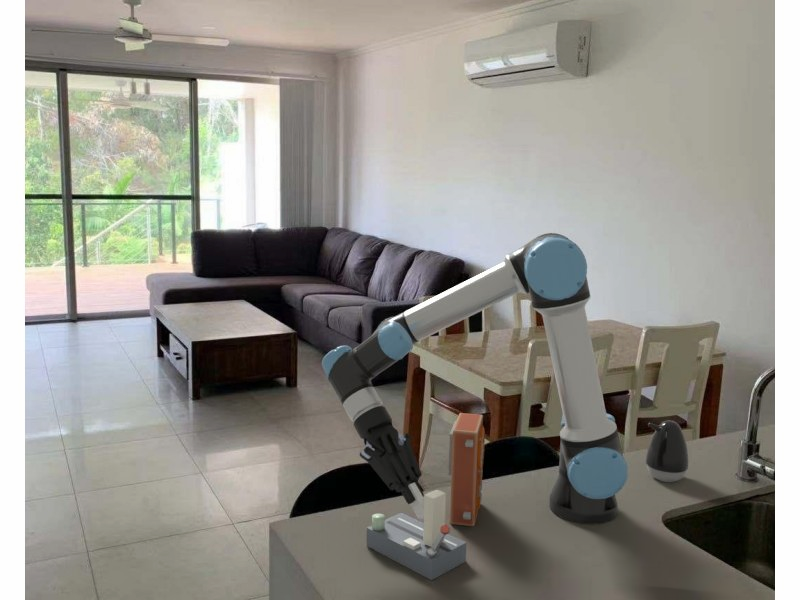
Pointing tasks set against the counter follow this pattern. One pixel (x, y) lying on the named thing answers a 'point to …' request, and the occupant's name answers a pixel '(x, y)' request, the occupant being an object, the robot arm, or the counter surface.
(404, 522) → the switch console
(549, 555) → the counter surface
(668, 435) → the pump dispenser
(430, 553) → the toggle lever
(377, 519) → the push button
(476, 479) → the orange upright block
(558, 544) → the counter surface
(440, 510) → the cream rectangular block
